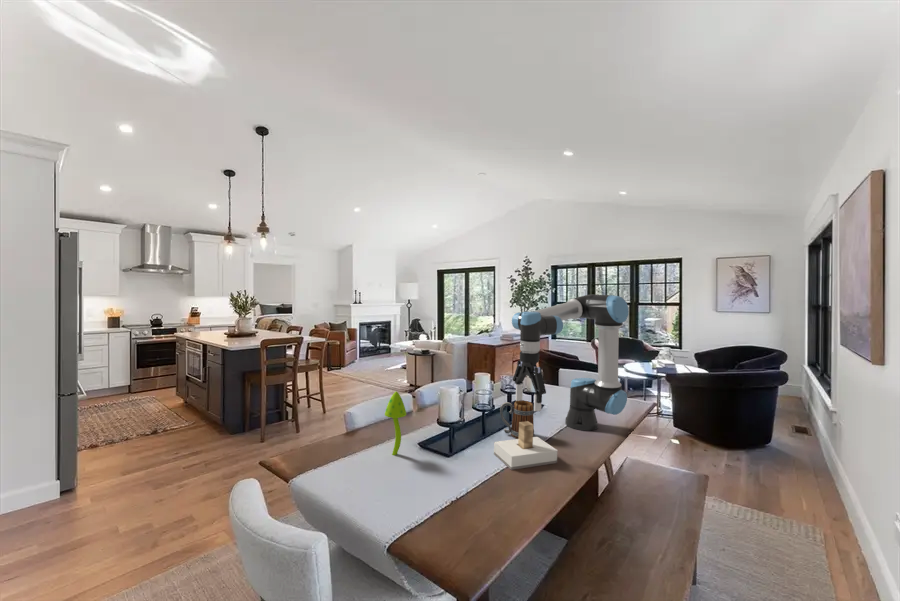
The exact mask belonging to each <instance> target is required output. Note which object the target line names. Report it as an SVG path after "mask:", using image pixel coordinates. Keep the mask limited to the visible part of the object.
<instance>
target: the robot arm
mask: <svg viewBox="0 0 900 601" xmlns="http://www.w3.org/2000/svg"><path fill="white" fill-rule="evenodd" d="M629 313H630V312H629V306H628V303H627V301H626V300H625V299H624V297H622V296H620V295H612V294H586V295H581V296H577V297H574V298H570V299H568V300H567V301H566V302H564V303H559V304H556V305H552V306H548V307H544V308H541V309H537V310H532V311H522V312H516V313H514V314H513V316H512V317H511V324H512V327H513V328H514V329H515V330H518V331H520V335H519V336H520V337H519V338H520V342H519V350H520V352H519V360H518V361H517V365H516V368H515V371H514V374H513V378H512V381H513V382H514V383H515V402H516V401H523V393H524V391H523V387H524V383H523V381H524V380H525V378H526V376H527V377H528V378H529V379H530V380H531V383H532V386H533V388H534V395H533V400H534V401H533V409H534V412H541V411H542V402H543V395H544V394H547V389H546V386H545V381H544V377H543V370H542V369H543V368H542V367H541V366H538V365H537V364H538V363H539V362H540V350H541V347H540V346H541V336H551V335H553V336H554V335H558V334H560V333H561V332H562V331H563V329H564V321H567V320H569V319H572V320H577V319H589V320H594V325H595V326H596V328H597V329H598V331H597V332H598V337H597V338H598V339H597V341H598V343H597V344H598V346H597V347H598V348H597V349H598V351H597V352H598V354H597V356H598V357H597V360H598V361H597V364H598V365H597V368H598V369H597V379H595V378H591V377H578V378H577V377H576V378H573V379H572V380H571V381H570V387H569V388H570V389H569V390H570V391H569V392H570V395H569V397H570V398H569V409H568V412H567V415H566V417H565V419H564V421H565V423H564V424H565V425H566V426H567V427H569V428H571V429H574V430H579V431H586V432H587V431H594V430H597V429H598V428H599V427H598V426H599V425H598V424H599V423H598V420H597V415H596V412H595V411H596V410H597V411H601V412H603V413H606V414H610V415H615V416H616V415H619V414H621V413H622V412H623V410H624V409H625V408H626V405H627V402H628V394H627V392H626V391H624V390H623V388H622V387H623V386H622V383H621V382H620V381H619V345H620V344H619V343H620V342H619V337H620V336H619V334H620V333H619V332H620V331H619V330H620V328H621V327H623V323H625V322H626V321H627V320H628V317H629Z"/></svg>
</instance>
